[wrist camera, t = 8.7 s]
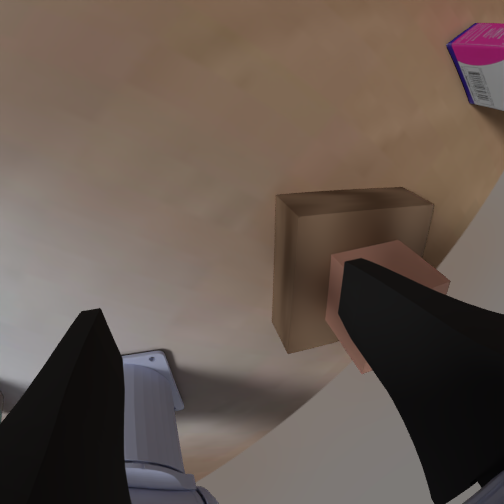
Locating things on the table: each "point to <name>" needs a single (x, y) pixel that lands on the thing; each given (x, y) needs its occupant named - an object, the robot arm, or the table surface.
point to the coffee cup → (1, 405)
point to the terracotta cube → (389, 257)
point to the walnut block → (332, 249)
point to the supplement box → (481, 63)
